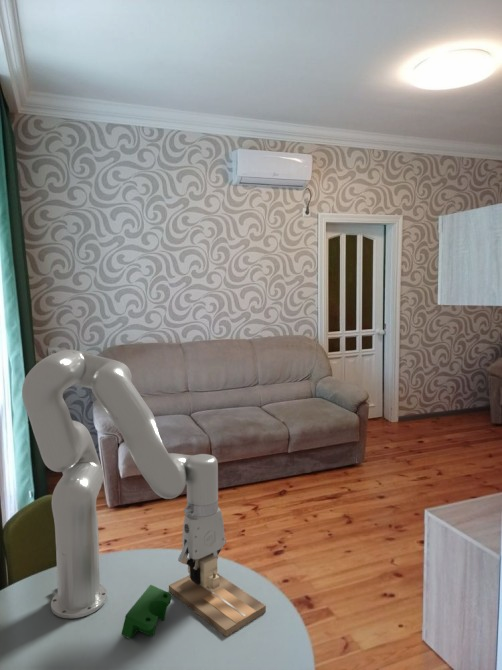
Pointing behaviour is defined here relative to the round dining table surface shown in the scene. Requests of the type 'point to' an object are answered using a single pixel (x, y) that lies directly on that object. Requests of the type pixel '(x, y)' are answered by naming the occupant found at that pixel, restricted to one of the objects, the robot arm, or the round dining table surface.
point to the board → (219, 603)
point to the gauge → (208, 571)
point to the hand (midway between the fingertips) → (203, 577)
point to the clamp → (146, 612)
